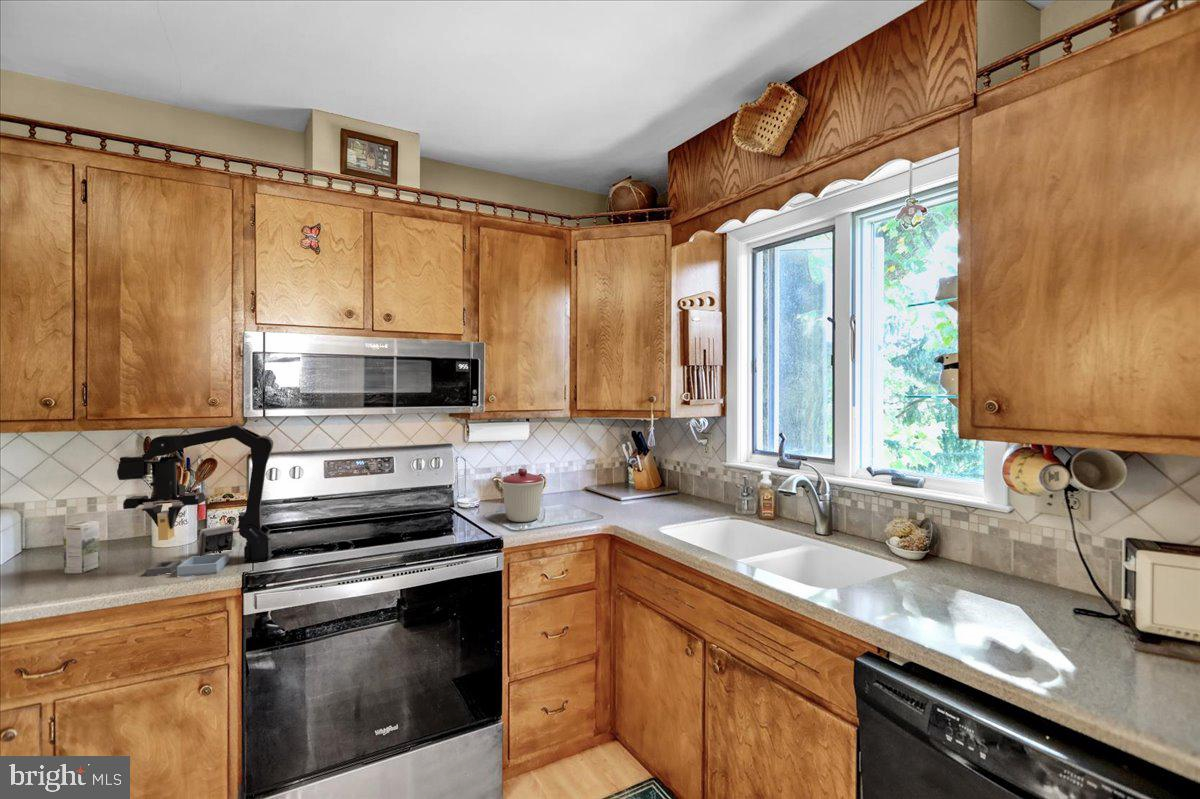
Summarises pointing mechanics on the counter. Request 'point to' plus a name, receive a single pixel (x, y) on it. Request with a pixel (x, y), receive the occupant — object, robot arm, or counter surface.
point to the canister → (522, 496)
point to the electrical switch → (215, 539)
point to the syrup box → (81, 546)
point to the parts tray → (203, 565)
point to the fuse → (164, 526)
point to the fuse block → (163, 567)
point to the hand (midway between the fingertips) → (166, 528)
